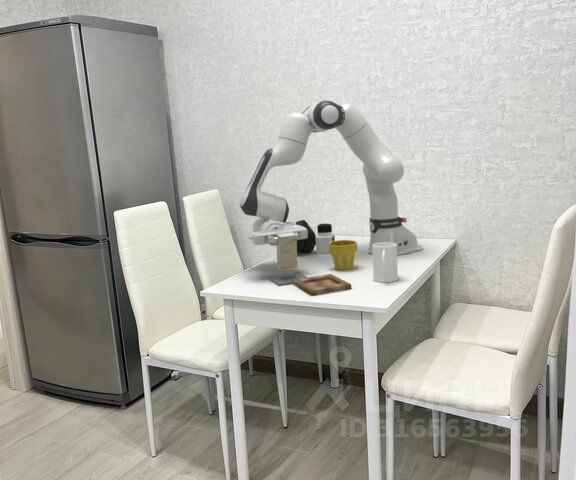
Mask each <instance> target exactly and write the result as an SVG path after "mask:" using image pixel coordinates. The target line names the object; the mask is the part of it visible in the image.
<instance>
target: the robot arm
mask: <svg viewBox="0 0 576 480" xmlns="http://www.w3.org/2000/svg"><path fill="white" fill-rule="evenodd" d="M332 129H335V130H337V131H338V133H340V135H341V136H342V138H343V140H344V141H345V142H346V144H347V145H348V147H349V148H350V150H351V151H352V153H353V155H355V156H356V157H357V158H358V159H359V160H360V162H361V163H363V165H362V172H363V175H364V178H365V183H366V188H367V192H368V197H369V215H370V218H369V232H370V235H369V236H370V238H369V245H368V250H367V253H368V254H372V255H373V250H372V245H373V244H375V243H380V242H392V243H396V244H397V256H401V255H404V254H410V253H415V252H418V251H419V252H420V251H423V250H424V247H423V245H421V244H418V240H417V236H416V234H415V232H413V231H411V230H410V229H409V228H407V227H406V226H404V225H403V223H404V224H406V223H407V217H404V216H403V217H400V216H399V207H398V202H399V201H398V196H397V193H396V190H395V187H394V184H395V183H398V182H399V181H400V180H401V179H402V178H403V176H404V174H405V173H404V172H405V169H404V168H405V167H404V164H403V163H402V161H400V160H399V159H398V158H397V157H396V156H395V155H394V154H393V152H392V151H391V150H390V149H389V148H388V147H387V145H386V144H384V142H383V141H381V140H380V138H379V137H378V135H377V133H376V132H375V131H374V130H373V128H372V127H371V125H370V124H369V122H368V121H367V119H366V118H365V117H364V116H363V114H362V113H361V112H360V111H359V110H358V109H357V107H355V105H353V104H351V103H343V104H341V105H339V104H337V103H336V102H334V101H330V100H322V101H318V102H314V103H313V104H312V105H309V106H308V107H307V108H305V109H304V110H303V112H292V113H289V114H288V115H287V116H286V118H285V120H284V123H283V125H282V127H281V129H280V132H279V135H278V138H277V141H276V142H275V145H274V146H273V147H271V148H269V149H266V151H265V152H264V153H263V155H262V157H261V159H260V160H259V163H258V165H257V166H256V169H255V171H254V173H253V175H252V177H251V178H250V181H249V183H248V185H247V187H246V189H245V190H244V192H243V194H242V196H241V198H240V202H239V207H240V209H241V211H242V213H244V215H246V216H250V217H257V219H255V220H254V222H253V223H252V233H251V234H250V235H248V237H247V238H248V239H249V240H251V241H252V244H253V245H255V246H261V245H270V246H273V247H277V243H278V238H277V237H276V234H282V233H289V232H293V233H295V234H296V235H297V240H300V239H306V238H307V237H308V232H307V229H306V228H305V227H303V226H300V225H296V222H294V221H293V222H292V221H289V222H288V221H287V220H288V218H289V213H290V207H289V204H288V201H287V199H286V198H285V197H281V196H279V195H275V194H272V193H268V192H264V191H262V190H261V188H262V186H263V184H264V182H265V180H266V178H267V175H268V174H269V172H270V170H272V169H273V168H275V167H282V166H291V165H295V164H297V163H299V162H300V161H301V160H302V159H303V157H304V155H305V151H306V148H307V145H308V143H309V142H308V141H309V138H310V135H312V133H323V132H326V131H329V130H332Z"/></svg>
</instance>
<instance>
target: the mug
mask: <svg viewBox="0 0 576 480" xmlns="http://www.w3.org/2000/svg"><path fill="white" fill-rule="evenodd" d="M372 250H373V254H372V267H373V268H372V269H373V273H372V274H373V275H372V276H373V277H372V279H373V281H374V282H376V281H377V283H393V282H392V281H394V282H397V281H398V280H399V274H398V273H399V272H398V255H397V244H396V243H392V242H380V243H375V244H373V245H372ZM396 280H397V281H396Z"/></svg>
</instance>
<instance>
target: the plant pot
mask: <svg viewBox="0 0 576 480" xmlns="http://www.w3.org/2000/svg"><path fill="white" fill-rule="evenodd" d="M329 252H330V253H331V254H330V255H331V258H332V262H333V265H334V269H335V270H336V271H350V270H352V269H353V268H354V264H355V258H356V253H357V252H358V242H357V240H352V239H339V240H335V241H332V242H330V243H329Z"/></svg>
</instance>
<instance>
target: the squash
mask: <svg viewBox="0 0 576 480" xmlns="http://www.w3.org/2000/svg"><path fill="white" fill-rule="evenodd" d="M295 223H296V225H300V226H303V227H305V228H306V229H307V232H308V237H307V238H306V239H300V240H297V255H298V254H310V253H312V252H313V251H314V249H315V248H316V236H317V235H316V233H315V232H314V230H313V229H312V227H311V226H310V225H309V224H308V222H307V221H306V220H305V219H302V220H298V221H296V222H295Z"/></svg>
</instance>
